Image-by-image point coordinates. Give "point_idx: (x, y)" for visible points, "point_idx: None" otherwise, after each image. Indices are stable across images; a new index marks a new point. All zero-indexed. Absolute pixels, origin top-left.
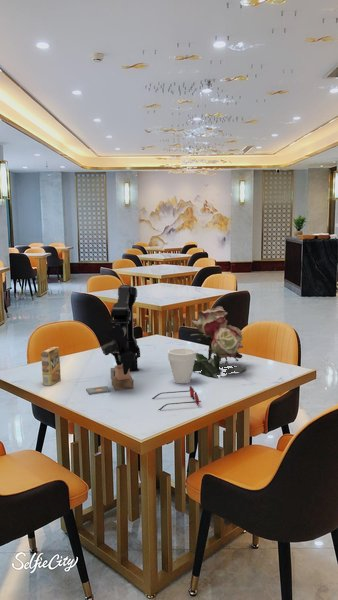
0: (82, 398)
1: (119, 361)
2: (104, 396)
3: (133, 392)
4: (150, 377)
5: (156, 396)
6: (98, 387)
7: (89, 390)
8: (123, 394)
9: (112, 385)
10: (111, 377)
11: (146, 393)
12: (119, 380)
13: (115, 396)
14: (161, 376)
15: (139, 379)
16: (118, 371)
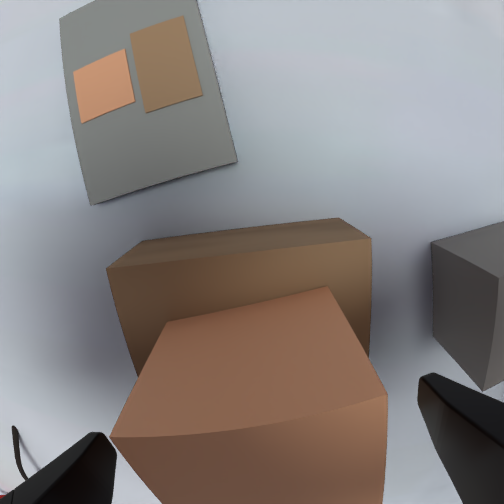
0: (15, 8)
1: (477, 479)
2: (8, 155)
3: (88, 379)
4: (408, 468)
5: (14, 448)
6: (185, 67)
7: (118, 2)
8: (42, 306)
9: (298, 222)
10: (500, 228)
11: (81, 435)
12: (154, 333)
13: (5, 243)
14: (396, 499)
15: (402, 427)
16: (129, 403)
